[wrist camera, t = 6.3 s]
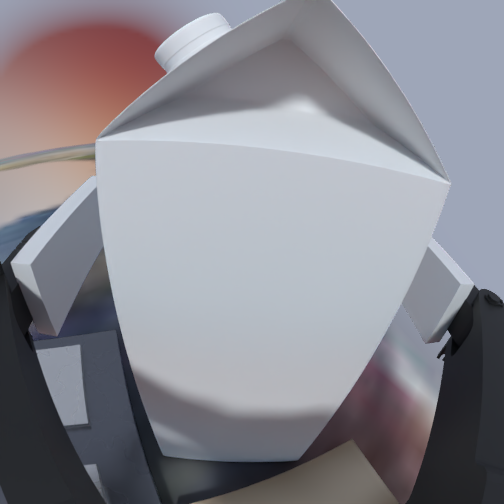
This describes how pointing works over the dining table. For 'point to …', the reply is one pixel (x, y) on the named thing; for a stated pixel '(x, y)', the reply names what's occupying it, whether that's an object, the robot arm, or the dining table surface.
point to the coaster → (318, 483)
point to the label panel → (98, 414)
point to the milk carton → (262, 227)
